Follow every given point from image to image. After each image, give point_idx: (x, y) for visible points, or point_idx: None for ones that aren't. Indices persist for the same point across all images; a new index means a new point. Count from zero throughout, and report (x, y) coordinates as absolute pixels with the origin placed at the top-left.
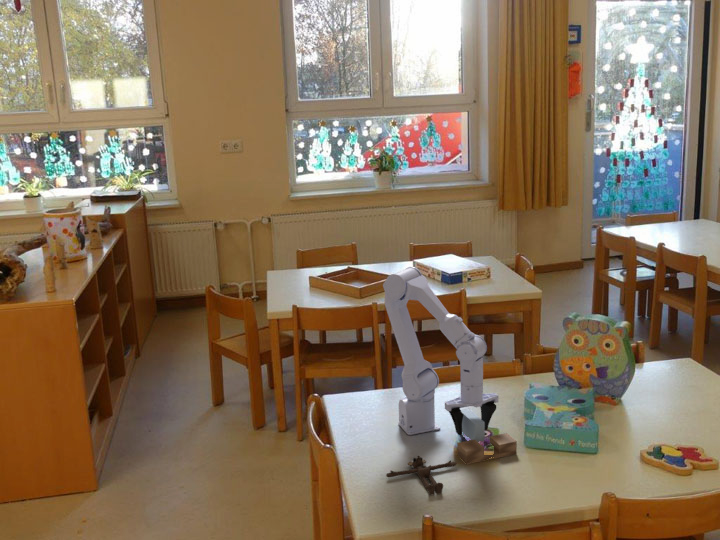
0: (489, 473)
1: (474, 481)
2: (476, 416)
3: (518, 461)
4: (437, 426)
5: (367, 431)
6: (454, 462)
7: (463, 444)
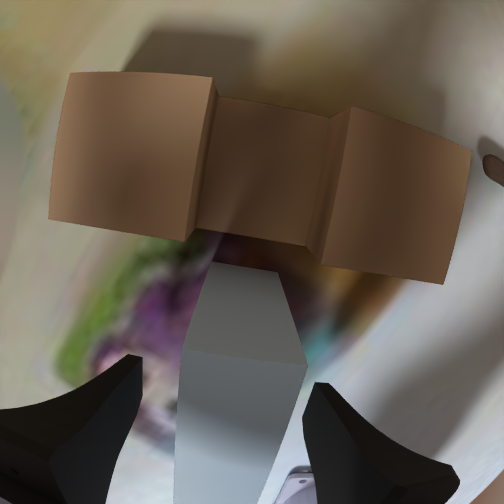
0: (374, 16)
1: (459, 26)
2: (187, 457)
3: (157, 23)
4: (293, 486)
5: None
6: (494, 166)
7: (434, 241)
